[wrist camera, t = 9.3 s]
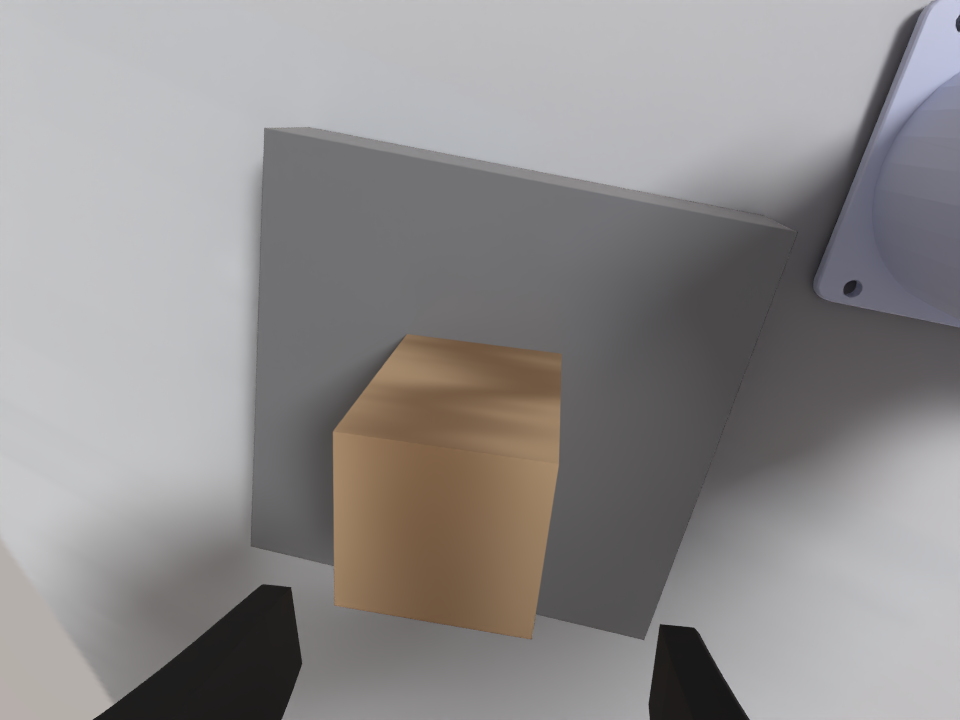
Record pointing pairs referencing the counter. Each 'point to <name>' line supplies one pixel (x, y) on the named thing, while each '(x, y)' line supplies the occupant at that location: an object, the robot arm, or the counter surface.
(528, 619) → the oak block
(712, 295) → the slate base
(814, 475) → the counter surface
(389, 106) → the counter surface
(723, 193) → the counter surface
